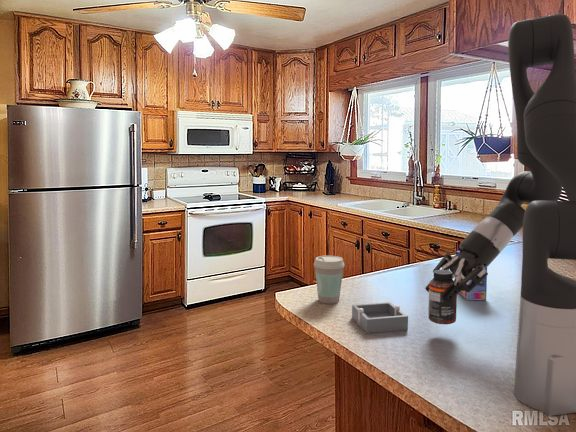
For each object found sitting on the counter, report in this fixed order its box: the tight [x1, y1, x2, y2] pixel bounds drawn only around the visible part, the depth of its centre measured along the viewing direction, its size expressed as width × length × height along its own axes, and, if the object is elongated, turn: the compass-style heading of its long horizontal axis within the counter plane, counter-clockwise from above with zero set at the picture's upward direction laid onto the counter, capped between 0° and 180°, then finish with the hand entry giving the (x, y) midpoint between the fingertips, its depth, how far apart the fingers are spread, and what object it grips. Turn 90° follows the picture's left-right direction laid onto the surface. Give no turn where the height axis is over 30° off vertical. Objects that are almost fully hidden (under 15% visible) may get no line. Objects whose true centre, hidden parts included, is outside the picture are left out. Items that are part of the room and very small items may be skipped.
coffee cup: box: [313, 255, 346, 305], centre depth 124 cm, size 9×9×12 cm
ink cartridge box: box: [455, 250, 488, 301], centre depth 128 cm, size 10×6×14 cm, turn 2°
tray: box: [351, 301, 409, 334], centre depth 107 cm, size 10×10×4 cm
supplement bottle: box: [427, 269, 458, 325], centre depth 99 cm, size 6×6×11 cm
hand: (435, 296), depth 99 cm, fingers closed on supplement bottle, 6 cm apart
